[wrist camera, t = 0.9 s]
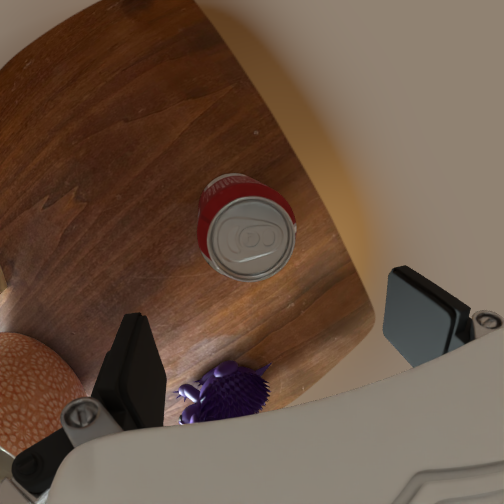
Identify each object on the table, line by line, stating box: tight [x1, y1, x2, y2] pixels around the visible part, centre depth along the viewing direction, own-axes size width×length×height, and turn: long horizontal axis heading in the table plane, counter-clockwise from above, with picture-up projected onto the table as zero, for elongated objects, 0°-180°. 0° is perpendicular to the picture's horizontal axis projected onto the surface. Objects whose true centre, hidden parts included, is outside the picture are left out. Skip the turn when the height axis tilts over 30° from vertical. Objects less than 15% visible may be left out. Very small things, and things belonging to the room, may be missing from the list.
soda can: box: [197, 173, 296, 282], centre depth 24 cm, size 7×7×12 cm
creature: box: [174, 360, 271, 425], centre depth 31 cm, size 9×18×12 cm, turn 126°
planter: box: [0, 332, 87, 482], centre depth 23 cm, size 21×21×19 cm
